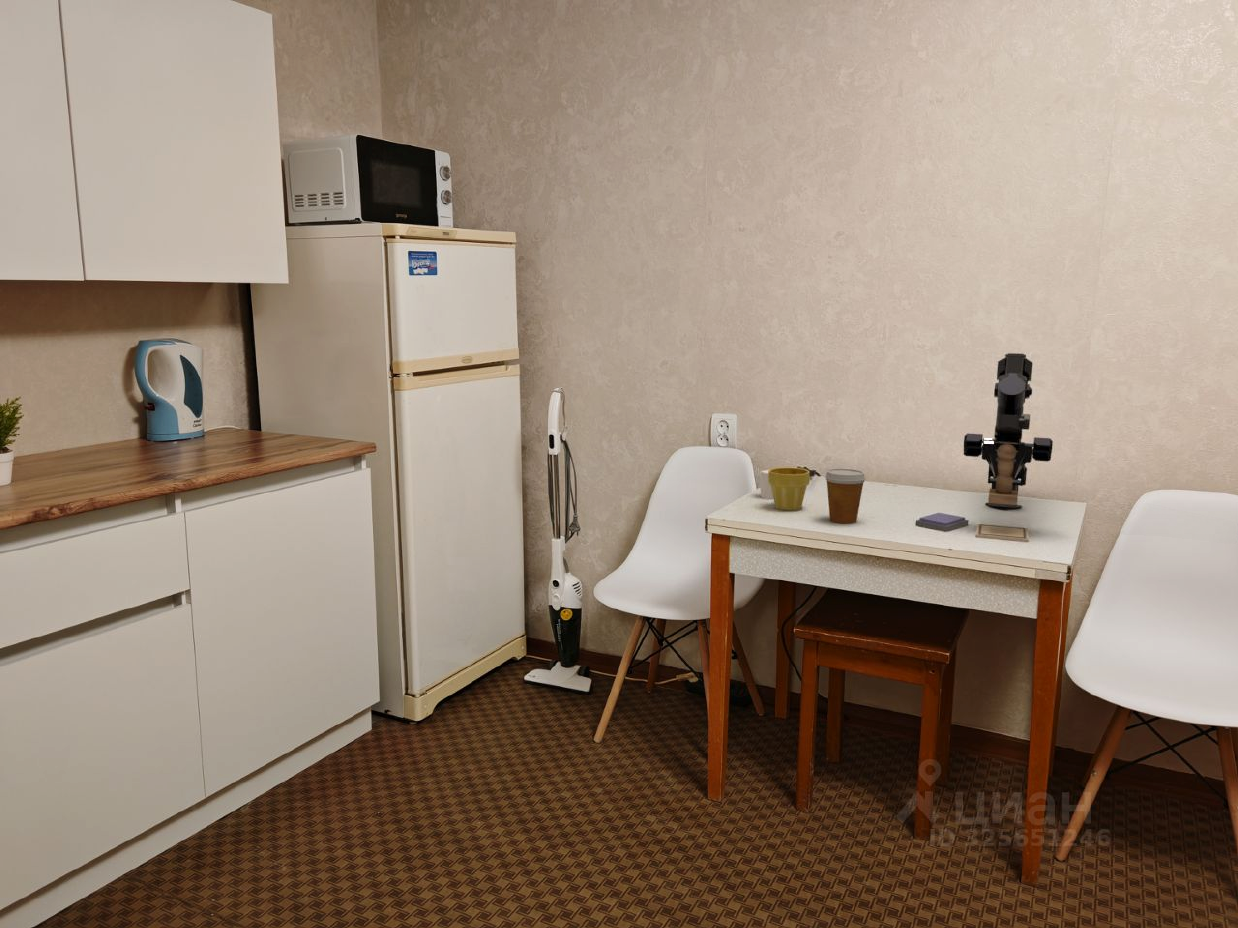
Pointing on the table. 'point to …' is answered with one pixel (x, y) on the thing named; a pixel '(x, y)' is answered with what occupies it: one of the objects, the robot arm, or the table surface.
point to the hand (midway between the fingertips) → (1004, 477)
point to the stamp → (1004, 479)
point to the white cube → (765, 485)
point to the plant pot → (788, 487)
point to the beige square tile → (1002, 532)
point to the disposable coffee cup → (844, 494)
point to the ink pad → (942, 522)
